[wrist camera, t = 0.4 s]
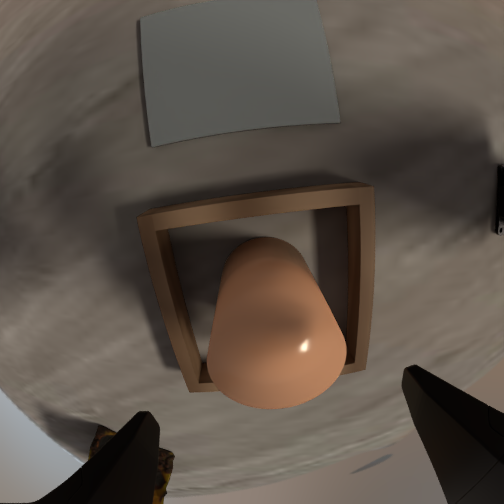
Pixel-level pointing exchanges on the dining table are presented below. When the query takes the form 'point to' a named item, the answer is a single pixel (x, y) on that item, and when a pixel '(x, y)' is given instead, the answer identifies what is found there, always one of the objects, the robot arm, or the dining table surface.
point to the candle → (163, 464)
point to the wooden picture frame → (257, 204)
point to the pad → (235, 68)
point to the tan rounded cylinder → (272, 329)
